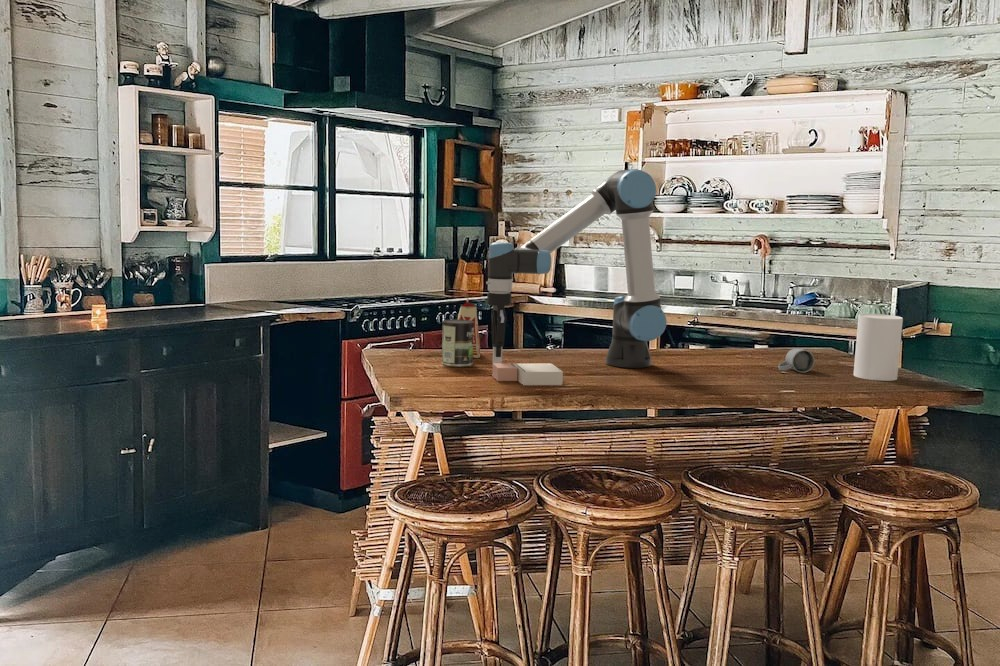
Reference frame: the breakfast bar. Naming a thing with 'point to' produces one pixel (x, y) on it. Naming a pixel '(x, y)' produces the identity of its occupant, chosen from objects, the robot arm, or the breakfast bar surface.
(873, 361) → the canister
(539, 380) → the board
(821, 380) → the breakfast bar surface
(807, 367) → the ceramic mug
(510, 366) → the stub
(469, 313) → the milk carton
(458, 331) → the coffee can
